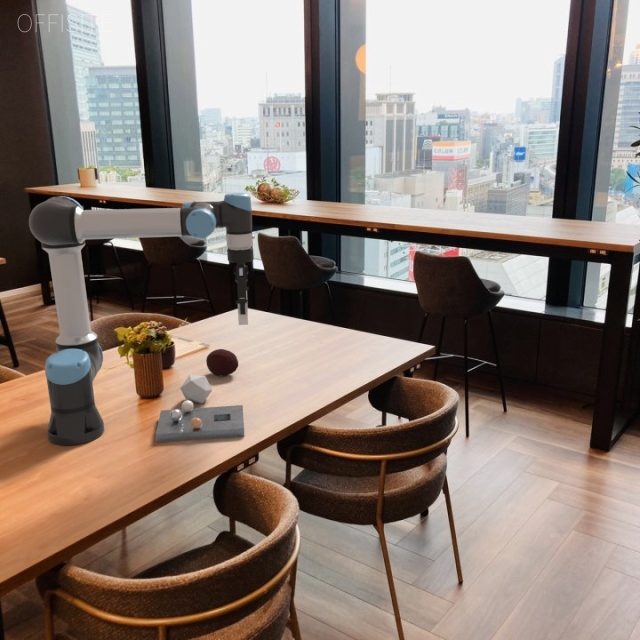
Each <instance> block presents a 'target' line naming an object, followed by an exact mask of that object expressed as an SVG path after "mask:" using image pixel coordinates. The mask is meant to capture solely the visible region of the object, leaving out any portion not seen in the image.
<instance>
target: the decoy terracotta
mask: <svg viewBox="0 0 640 640" xmlns="http://www.w3.org/2000/svg"><path fill="white" fill-rule="evenodd" d="M201 425H202V421H201V419H199V418H194V419H193V420H192V421H191V426H192V427H193V428H195V429H197V428H200V427H201Z"/></svg>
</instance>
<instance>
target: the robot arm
mask: <svg viewBox="0 0 640 640" xmlns="http://www.w3.org/2000/svg"><path fill="white" fill-rule="evenodd" d="M252 209H253V208H252V199H251V196H250V194H248V193H247V192H232V193H230V192H229V193H226V194H224V198H223V200H219V201H218V200H217V201H195V200H193V201H188V202H187V201H186V202H184V203H183V204H182V206H181V207H171V208H170V207H167V208H165V207H164V208H159V207H158V208H130V209H129V208H128V209H127V208H124V209H122V208H121V209H120V208H119V209H85V210H84V208H83V207H82V205H81V204H80V203H79V202H78V201H77V200H75V199H74V198H72V197H68V196H61V195H60V196H52V197H50V198H48V199H47V200H45V201H43V202H41V203H39V204H37V205H36V206H35V207H34V208H33V209H32V210H31V213H30V215H29V218H28V227H29V230H30V232H31V234H32V235H33V237H34V238H35V239H37V241H39V242H40V244H41V249H42V250H44V251H45V252H46V253H47V254H48V259H49V260H48V261H49V267H50V272H51V273H50V274H51V279H52V280H51V281H52V288H53V293H54V294H53V295H54V301H55V308H56V315H57V321H58V331H59V335H58V336H57V338H56V339H55V347H56V352H53V353H52V354H50V355H49V356H48V357H47V358H46V359H45V365H44V372H45V377H46V384H47V390H48V396H49V403H50V405H49V406H50V411H51V412H50V417H49V421H48V426H47V439H48V441H49V442H50V443H52V444H54V445H58V446H75V445H81V444H86V443H89V442H92V441H94V440H96V439H98V438H99V437H101V436H103V434H104V432H105V423H104V420H103V418H102V415H101V414H100V412H99V410H98V408H97V406H96V403H95V401H96V400H95V393H94V391H95V390H94V385H93V383H94V380H95V378H96V377H97V375H98V373H99V371H100V370H101V368H102V366H103V361H104V354H103V349H102V347H101V346H100V344H99V340H98V334H97V333H96V332H94V331H92V326H91V321H90V311H89V304H88V298H87V297H88V295H87V290H86V282H85V274H84V273H85V272H84V267H83V265H84V264H83V260H82V251H81V250H82V249H83V248H84V247H85V245H86V240H104V239H106V240H107V239H133V238H134V239H137V238H163V237H164V238H166V237H167V238H168V237H170V238H171V237H194V238H196V239H205V238H208V237H209V236H211V235H212V234H213V232H214V231H215V229H218V228H219V229H223V228H225V230H226V231H225V237H226V238H225V239H226V247H227V249H226V250H227V251H226V252H227V261H228V262H229V263H235V264H236V266H234V272H233V273H234V275H235V276H234V277H235V278H234V279H235V282H236V284H237V285H236V286H237V290H236V291H237V300H235V302H234V303H235V305H237V316H238V317H237V319H238V326H245V325H249V315H248V312H249V311H248V310H249V307H248V291H249V290H250V288H249V285H248V286H247V282H248V275H249V268H248V265H246V263H250V262H252V261H253V260H254V259H255V258H254V248H253V246H254V243H253V240H254V239H255V235H253V213H252V212H253V211H252Z"/></svg>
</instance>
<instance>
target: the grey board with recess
mask: <svg viewBox="0 0 640 640" xmlns="http://www.w3.org/2000/svg"><path fill="white" fill-rule="evenodd" d="M243 406H244V405H243V404H239V405H237V404H236V405H226V406H225V405H224V406H208V407H195V408H194V407H193V409H192V410H191V411H190V412H185V411H184V410H183V409H182V408H181V409H180V408H177V409H178V410H180V411H181V413H182V417H181V419H180V420H179V421H173V420H171V418H170V413H171V411H172V410H173V409H165V410H163V409H162V410H160V414H159V417H158V422H157V427H156V431H155V438H156V439H155V440H156V443H172V442H182V441H184V442H185V441H186V442H187V441H198V440H210V439H211V440H213V439H225V438H226V439H227V438H239V437H241V438H242V437H245V424H244V423H245V422H244V409H243V408H244V407H243ZM194 418H199V419H201V421H202V425H201V427H200V428H197V429H195V428H193V427H192V426H191V421H192V420H193V419H194Z"/></svg>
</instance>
